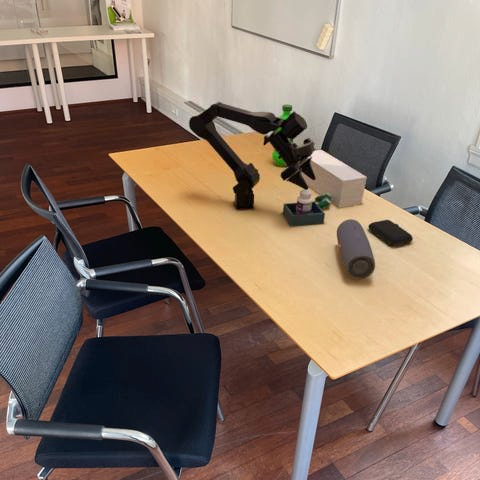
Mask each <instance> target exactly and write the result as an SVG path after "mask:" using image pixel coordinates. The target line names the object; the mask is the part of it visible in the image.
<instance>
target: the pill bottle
mask: <svg viewBox="0 0 480 480" xmlns="http://www.w3.org/2000/svg"><path fill="white" fill-rule="evenodd" d="M312 202H313V198H312V191H311V190H309V189H307V190H305V189H301V190H300V191H299V195H298V196H297V198H296V203H297V205H296V214H295V215H302V214H311V206H312Z"/></svg>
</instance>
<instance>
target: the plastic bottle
mask: <svg viewBox="0 0 480 480" xmlns="http://www.w3.org/2000/svg"><path fill="white" fill-rule="evenodd" d="M281 110H282V114H281V115H279V116H278V117H279V118H282V119H286V118H288V117H289V115H290V114H291V113H292V112H293V105H292V104H289V103H288V104H282V106H281ZM280 130H281V127H280V128H278V129H277V130H276V131H278V132H279V131H280ZM289 140H290V142H291V143H292V144H293V143H294V139H291V138H290V139H289ZM290 142H289V143H290ZM271 153H272V160H273V162H274V163H275V165H276V166H280V167H285V166H286V164H285V163H284V161H283V160H282V159H281V158H280V159H279V158H278V156H279V154H278V152H276V150H275V149H274V148H273V150H272V152H271Z"/></svg>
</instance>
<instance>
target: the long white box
mask: <svg viewBox="0 0 480 480" xmlns="http://www.w3.org/2000/svg"><path fill="white" fill-rule="evenodd" d="M311 156H312V159H311V166H312V169H313V172H314V174H315V177H316V179H315V180H314V181H313V180H312V179H310V178H309V177H308V176H307V175H305V174H304V173H303V172H301V175H302V176H303V178H304V180H305V182H306V183H307V185H308V187H309V188H311V189H312V190H314V191H315V192H316V193H317V194H319V196H321V195H326V194H327V193H329V194H330V195H331V203H330V204H333V205H334V206H335V207H337V208H339V209H340V208H346V207H349V206H350V207H351V206H357V205H361V204H362V202H363V199H364V194H365V188H366V184H367V179H368V177H367V176H366V175H365V174H363V173H361V172H360V171H358V170H356V169H354V168H352V167H351V166H349V165H347V164H345V163H344V162H343V161H341V160H339V159H337V158H336V157H334V156H332V155H331V154H329V153H328V152H326V151H324V150H323V149H318V150H316V149H315V151H313V153H312V155H311ZM311 156H310V157H311ZM310 157H308V158H310Z"/></svg>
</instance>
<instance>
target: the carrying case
mask: <svg viewBox="0 0 480 480" xmlns="http://www.w3.org/2000/svg"><path fill="white" fill-rule="evenodd" d="M367 228H368V229H369V231H370V232H371V233H372V234H373V235H375V236H376V237H378V238H379V239H381V240H382V241H384V242H385V243H387V245H389V246H391V247H395V246H401V245H405V244H409V243H411V242H412V241H413V240H414V237H413V236H412V234H411V233H410V232H408V231H407V230H405V229H404V228H402V227H401V226H399V224H398V223H394V222H393V221H391V220H390V219H383V220H378V221H373V222H371V223H369V224H368V227H367Z"/></svg>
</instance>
